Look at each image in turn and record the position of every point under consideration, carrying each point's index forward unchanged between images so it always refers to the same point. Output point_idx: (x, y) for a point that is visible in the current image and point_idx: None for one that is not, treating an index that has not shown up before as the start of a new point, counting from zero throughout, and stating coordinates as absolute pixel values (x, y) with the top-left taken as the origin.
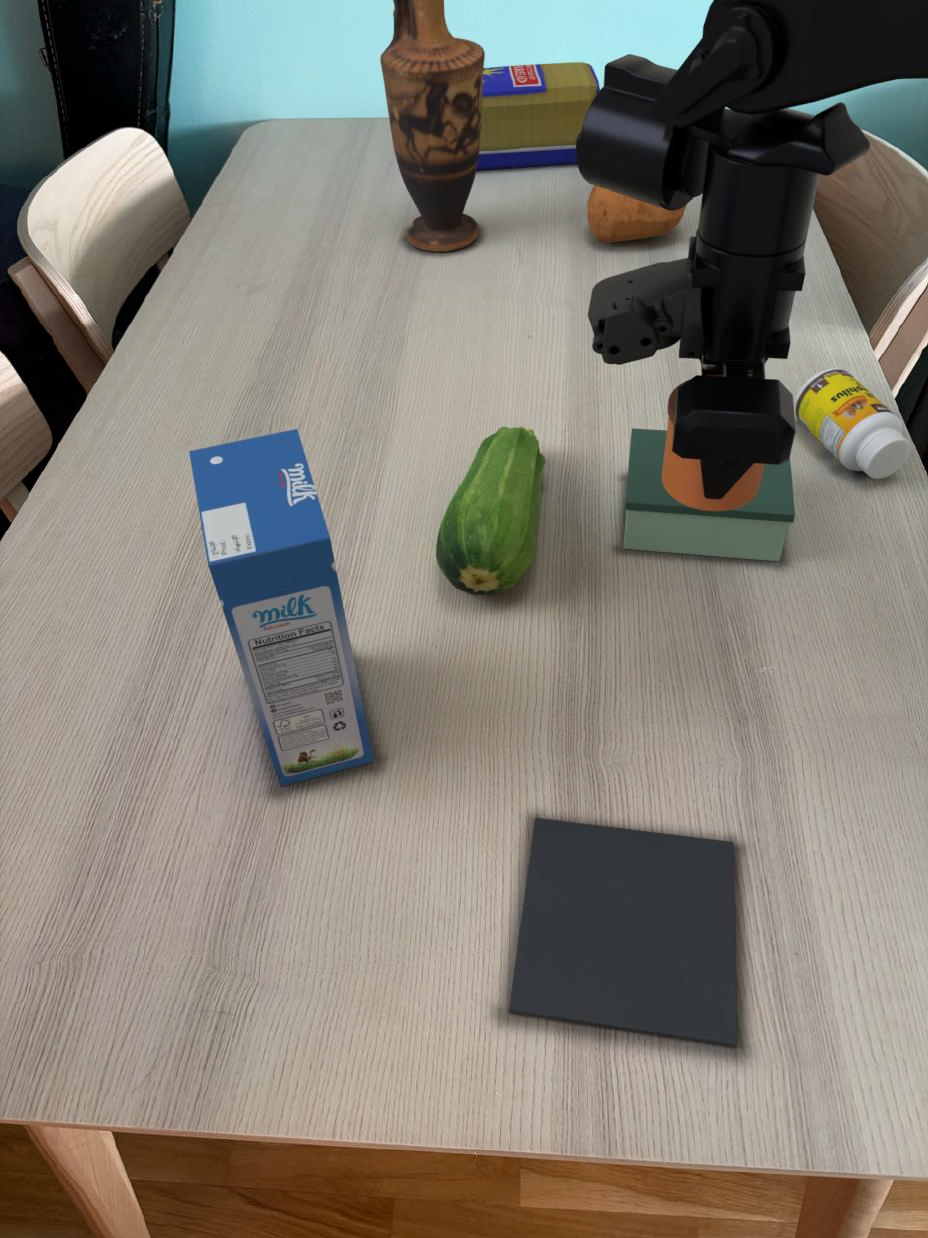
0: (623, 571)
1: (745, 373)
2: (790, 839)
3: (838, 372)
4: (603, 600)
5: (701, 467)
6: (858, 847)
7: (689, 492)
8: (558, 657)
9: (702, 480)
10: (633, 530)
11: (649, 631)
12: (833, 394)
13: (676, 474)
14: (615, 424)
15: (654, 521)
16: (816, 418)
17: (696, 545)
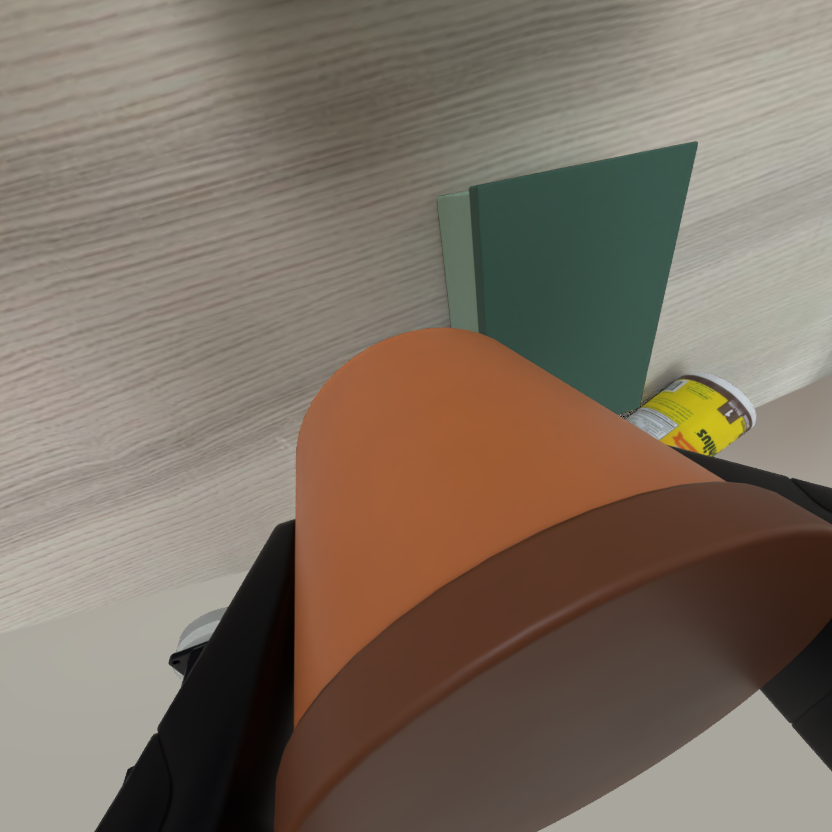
0: (386, 211)
1: (787, 679)
2: (41, 529)
3: (745, 429)
4: (305, 191)
5: (165, 715)
6: (90, 571)
7: (297, 470)
8: (110, 132)
9: (231, 603)
10: (453, 212)
11: (273, 290)
12: (709, 432)
13: (319, 446)
14: (730, 99)
15: (466, 252)
16: (677, 409)
17: (455, 318)
